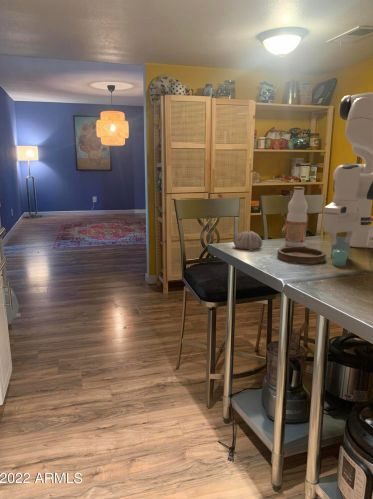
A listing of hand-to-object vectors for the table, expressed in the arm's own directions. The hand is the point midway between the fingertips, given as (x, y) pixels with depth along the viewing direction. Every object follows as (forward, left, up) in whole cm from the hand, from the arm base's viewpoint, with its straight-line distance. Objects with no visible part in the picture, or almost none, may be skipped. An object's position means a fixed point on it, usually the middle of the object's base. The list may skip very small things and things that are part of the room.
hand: (340, 243), depth 148 cm
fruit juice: (-15, -33, -9) cm, 38 cm away
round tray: (+4, -15, -9) cm, 18 cm away
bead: (0, 0, -9) cm, 9 cm away
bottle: (-10, -6, -9) cm, 15 cm away
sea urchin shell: (+8, -42, -9) cm, 44 cm away
